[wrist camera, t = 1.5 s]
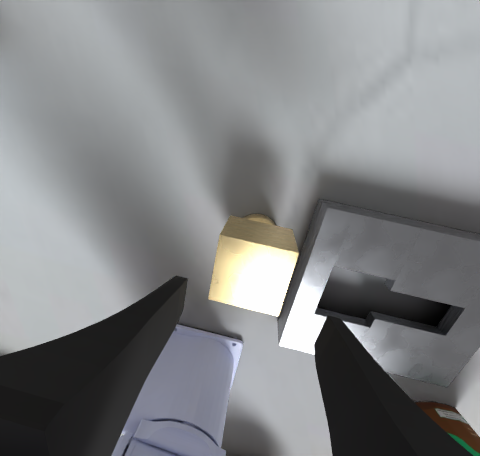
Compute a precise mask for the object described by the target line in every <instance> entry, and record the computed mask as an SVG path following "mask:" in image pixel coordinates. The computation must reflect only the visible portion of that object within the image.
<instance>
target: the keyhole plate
mask: <svg viewBox="0 0 480 456" xmlns="http://www.w3.org/2000/svg"><path fill="white" fill-rule="evenodd" d="M333 266H336V267H340V268H344V269H349V270H353V271H357V272H361V273H366V274H370V275H374V276H379V277H383V278H387V279H386V281H385V283H384V284H385V285H386V286H387V287H388V289H389V290H390V291H394V292H398V293H402V294H407V295H411V296H415V297H419V298H424V299H428V300H432V301H436V302H441V303H445V304H449V305H451V306H450V308H449V309H448V311H447V312H446V314H445V315H444V316H443V318H442V319H441V321H440V322H439V324H438V325H437V327H435V326H431V325H427V324H422V323H418V322H414V321H410V320H406V319H402V318H397V317H393V316H389V315H385V314H381V313H376V312H372V311H370V312H369V314H368V316H367V318H366V319H362V318H358V317H353V316H349V315H345V314H341V313H337V312H333V311H328V310H324V309H320V308H317V305H318V303H319V300H320V298H321V296H322V293H323V291H324V288H325V286H326V283H327V281H328V278H329V276H330V273H331V271H332V268H333ZM328 315H329V316H333V317H337V318H340V319H341V320H342V321H343V322H344V323H345V324H346V326H347V327H348V328H349V329H350V330H351V332H352V333H353V334H354V335H355V337H356V338H357V339H358V340H359V341H360V343H361V344H362V345H363V346H364V348H365V349H366V350H367V351H368V352H369V354H370V355H371V356H372V357H373V358H374V360H375V361H376V362H377V363H378V364H379V365H380V366H381V368H382V369H383V370H384V371H385V372H388V373H392V374H396V375H400V376H404V377H408V378H412V379H416V380H420V381H424V382H428V383H432V384H436V385H440V386H444V387H448V386H449V384H450V383H451V382H452V381H453V379H454V378H455V377H456V376H457V375H458V373H459V372H460V371H461V370H462V368H463V367H464V366H465V365H466V363H467V362H468V361H469V360H470V358H471V357H472V356H473V355H474V353H475V352H476V351H477V350H478V348H479V347H480V234H477V233H472V232H468V231H463V230H458V229H454V228H449V227H445V226H440V225H436V224H431V223H427V222H422V221H418V220H413V219H409V218H404V217H400V216H395V215H390V214H386V213H381V212H377V211H372V210H368V209H363V208H359V207H354V206H350V205H345V204H341V203H336V202H331V201H327V200H322V199H319V200H318V203H317V206H316V209H315V212H314V215H313V218H312V221H311V224H310V227H309V230H308V233H307V236H306V239H305V242H304V245H303V248H302V251H301V254H300V257H299V260H298V263H297V266H296V269H295V272H294V275H293V278H292V281H291V284H290V287H289V290H288V293H287V296H286V299H285V302H284V305H283V308H282V311H281V314H280V317H279V320H278V340H279V345H280V346H284V347H288V348H292V349H296V350H300V351H304V352H308V353H312V354H315V352H314V343H315V341H316V339H317V337H318V335H319V333H320V331H321V329H322V327H323V324H324V322H325V320H326V318H327V316H328Z"/></svg>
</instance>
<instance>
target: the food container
mask: <svg viewBox="0 0 480 456" xmlns="http://www.w3.org/2000/svg"><path fill="white" fill-rule="evenodd" d="M415 403H416V404H417V405H418V406H419V407H420V408H421V409H422V410H423V411H424V412H425V413H426V414H427V415H428V416H429V417H430V418H431V419H432V420H433V421H435V422H436V423H437V424H438V425H439V426H440V427H441V428H442V429H443V430H445V431H446V432H447V433H448V434H449V435H450V436H451V437H452V438H453V439H455V440H456V441H457V442H458V443H459V444H460V445H462V446H463V447H464V448H465V449H466V450H467V451H469V452H470V453H471V454H472V455H473V456H480V437H479V436H478V435H477V434H476V432H475V431H474V430H473V429H472V428H471V426H470V425H469V424H468V423H467V421H466V420H465V419H464V418H463V417H462V415H461V414H460V413H459V412H458V411H457V409H456V408H454V407H451V406H449V405H446V404H441V403H436V402H415Z"/></svg>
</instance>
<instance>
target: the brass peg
mask: <svg viewBox="0 0 480 456" xmlns="http://www.w3.org/2000/svg"><path fill="white" fill-rule="evenodd" d="M298 255H299V251H298V248H297V244H296V241H295V237H294V234H293V230H292V229H288V228H283V227H279V226H276V225H275V223H274V222H273V221H272V220H271V219H270V218H269V217H267V216H265V215H262V214H250V215H247V216H245V217H244V218H240V217H235V216H231V215H230V217H229V219H228V221H227V222H226V224H225V226H224V228H223V230H222V232H221V233H220V236H219V242H218V247H217V253H216V258H215V264H214V269H213V275H212V281H211V286H210V292H209V297H208V299H210V300H214V301H218V302H222V303H226V304H230V305H234V306H238V307H242V308H246V309H250V310H255V311H259V312H263V313H267V314H271V315H275V316H278V315H279V312H280V309H281V306H282V303H283V300H284V297H285V294H286V291H287V288H288V285H289V282H290V279H291V276H292V273H293V270H294V267H295V264H296V261H297V258H298Z"/></svg>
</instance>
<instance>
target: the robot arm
mask: <svg viewBox="0 0 480 456" xmlns="http://www.w3.org/2000/svg"><path fill="white" fill-rule="evenodd" d="M187 280H188V279H187V278H183V277H179V276H175V277H173V278H172V279H170V280H169V281H168V282H166V283H165V284H163V285H162V286H160V287H159V288H158V289H156V290H155V291H153V292H152V293H150V294H149V295H147V296H146V297H144V298H142V299H141V300H139V301H137V302H136V303H134V304H132V305H131V306H129V307H127V308H126V309H124V310H122V311H120V312H118V313H116V314H114V315H112V316H110V317H108V318H106V319H104V320H102V321H100V322H98V323H96V324H93V325H91V326H88V327H86V328H84V329H81V330H79V331H77V332H74V333H72V334H69V335H66V336H63V337H61V338H58V339H55V340H52V341H49V342H46V343H43V344H40V345H37V346H34V347H31V348H28V349H24V350H21V351H17V352H14V353H10V354H7V355H3V356H0V456H226V450H224V449H222V448H221V445H222V439H223V432H224V426H225V420H226V413H227V407H228V400H229V394H230V388H231V387H232V384H233V380H234V377H235V373H236V369H237V366H238V362H239V358H240V355H241V351H242V348H243V342H242V341H241V340H238V339H234V338H230V337H226V336H222V335H218V334H214V333H210V332H206V331H202V330H198V329H194V328H190V327H186V326H182V325H178V324H177V323H178V321H179V318H180V316H181V314H182V311H183V307H184V300H185V294H186V287H187ZM175 328H176V329H175ZM314 352H315V363H316V369H317V374H318V379H319V384H320V388H321V393H322V398H323V402H324V407H325V411H326V416H327V421H328V426H329V432H330V439H331V446H332V454H333V456H473V455H472V454H471V453H470V452H469V451H467V450H466V449H465V448H464V447H463V446H462V445H460V444H459V443H458V442H457V441H456V440H455V439H453V438H452V437H451V436H450V435H449V434H448V433H447V432H446V431H445V430H443V429H442V428H441V427H440V426H439V425H438V424H437V423H436V422H435V421H433V420H432V419H431V418H430V417H429V416H428V415H427V414H426V413H425V412H424V411H423V410H422V409H421V408H420V407H419V406H418V405H417V404H416V403H415V402H414V401H413V400H412V399H411V398H410V397H409V396H408V395H407V394H406V393H405V392H404V391H403V390H402V389H401V388H400V387H399V386H398V385H397V384H396V383H395V382H394V381H393V380H392V379H391V378H390V376H389V375H388V374H387V373H386V372H385V371H384V370H383V369H382V368H381V366H380V365H379V364H378V363H377V362H376V361H375V360H374V358H373V357H372V356H371V355H370V354H369V352H368V351H367V350H366V349H365V348H364V346H363V345H362V344H361V343H360V341H359V340H358V339H357V338H356V337H355V335H354V334H353V333H352V332H351V330H350V329H349V328H348V327H347V326H346V324H345V323H344V322H343V321H342V320H341V319H340V318H337V317H333V316H329V315H328V316H327V318H326V320H325V322H324V324H323V327H322V329H321V331H320V333H319V335H318V337H317V339H316V341H315V343H314ZM121 433H122V434H124V435H122V436H121V437H120V435H121Z"/></svg>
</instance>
